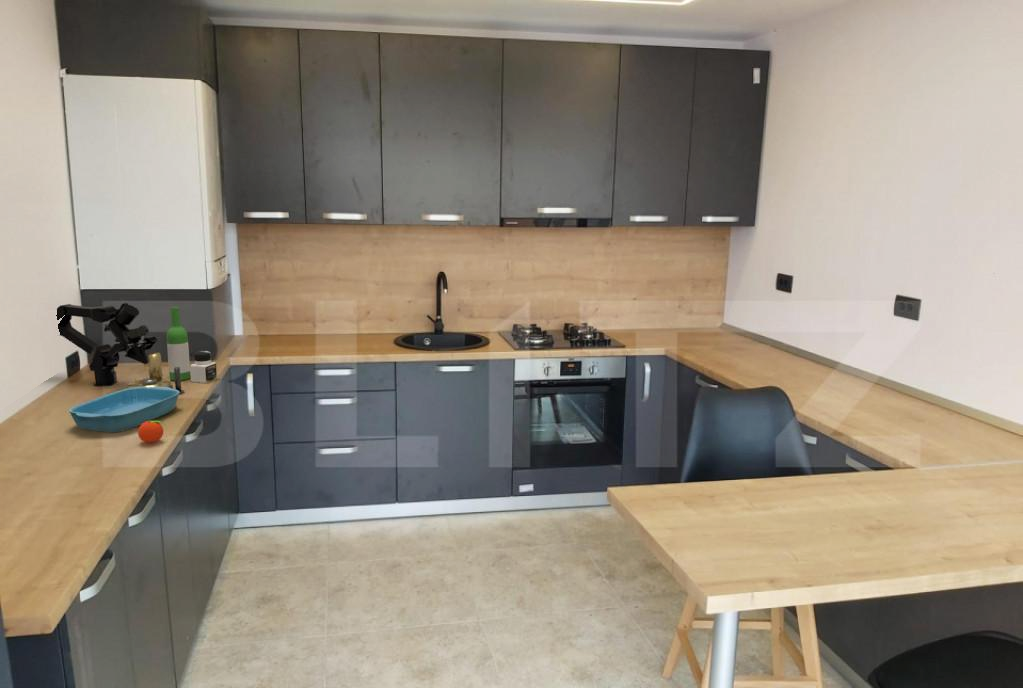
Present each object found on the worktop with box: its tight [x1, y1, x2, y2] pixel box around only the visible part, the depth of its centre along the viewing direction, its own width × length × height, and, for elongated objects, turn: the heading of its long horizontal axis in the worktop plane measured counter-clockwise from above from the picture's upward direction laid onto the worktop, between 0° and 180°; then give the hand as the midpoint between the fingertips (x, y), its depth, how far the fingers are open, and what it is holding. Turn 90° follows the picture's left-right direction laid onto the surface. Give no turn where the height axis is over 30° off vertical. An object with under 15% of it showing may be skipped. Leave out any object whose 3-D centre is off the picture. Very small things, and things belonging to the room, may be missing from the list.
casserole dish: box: [69, 387, 180, 433], centre depth 232 cm, size 37×22×7 cm, turn 169°
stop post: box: [174, 367, 185, 395], centre depth 261 cm, size 4×4×10 cm
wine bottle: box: [166, 306, 191, 382], centre depth 278 cm, size 8×8×30 cm
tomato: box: [137, 420, 168, 444], centre depth 211 cm, size 8×7×7 cm
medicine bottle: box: [190, 350, 218, 384], centre depth 279 cm, size 7×7×12 cm
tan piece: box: [127, 352, 172, 388], centre depth 256 cm, size 14×15×12 cm
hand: (146, 363), depth 263 cm, fingers closed
